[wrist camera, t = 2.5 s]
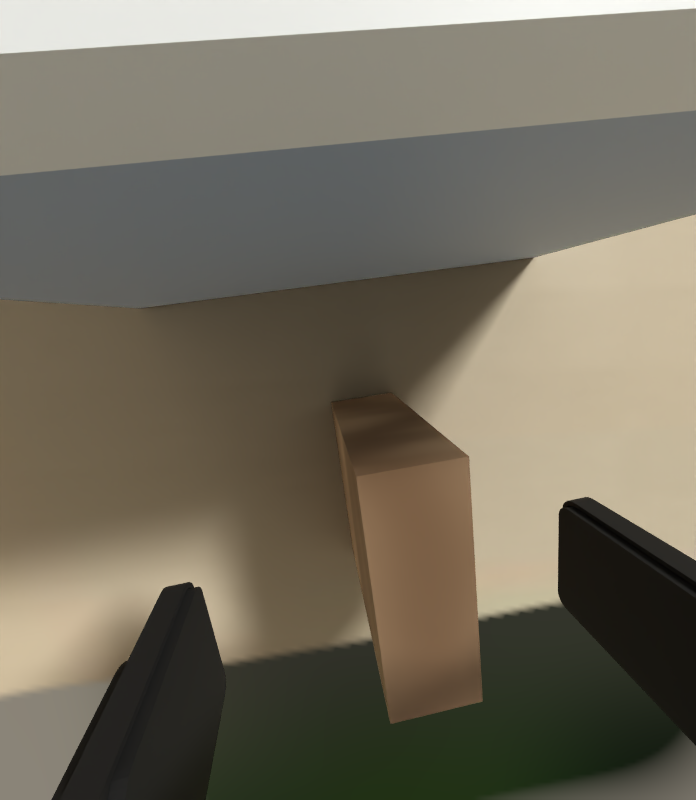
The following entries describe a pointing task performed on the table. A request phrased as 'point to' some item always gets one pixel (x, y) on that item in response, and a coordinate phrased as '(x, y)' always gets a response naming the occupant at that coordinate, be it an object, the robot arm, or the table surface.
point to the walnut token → (412, 553)
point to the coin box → (329, 139)
